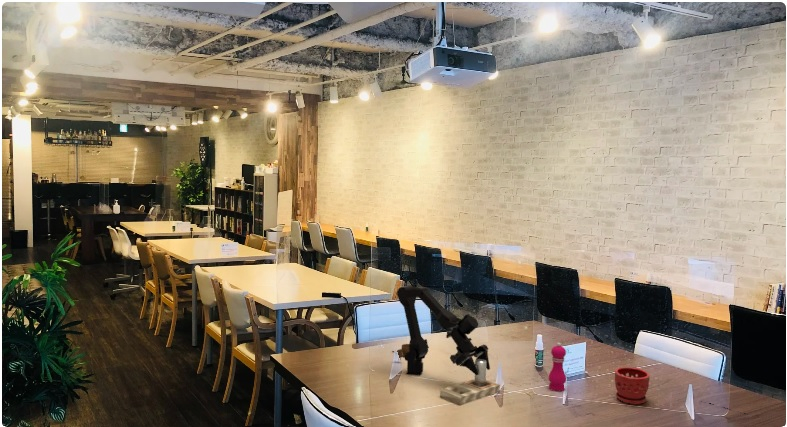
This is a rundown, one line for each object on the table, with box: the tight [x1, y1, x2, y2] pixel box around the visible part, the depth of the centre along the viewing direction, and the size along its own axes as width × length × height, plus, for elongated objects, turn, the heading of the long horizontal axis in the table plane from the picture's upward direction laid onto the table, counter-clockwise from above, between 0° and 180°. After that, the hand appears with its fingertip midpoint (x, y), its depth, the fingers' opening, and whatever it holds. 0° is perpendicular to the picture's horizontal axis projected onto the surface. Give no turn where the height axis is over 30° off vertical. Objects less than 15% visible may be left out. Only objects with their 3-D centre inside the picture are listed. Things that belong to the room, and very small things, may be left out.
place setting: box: [396, 343, 409, 359], centre depth 308 cm, size 18×20×6 cm
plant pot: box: [614, 366, 650, 405], centre depth 256 cm, size 13×13×12 cm
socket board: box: [439, 378, 501, 406], centre depth 258 cm, size 24×11×3 cm, turn 131°
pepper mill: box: [548, 342, 567, 392], centre depth 267 cm, size 7×7×20 cm
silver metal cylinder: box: [474, 358, 487, 387], centre depth 262 cm, size 5×5×13 cm
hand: (483, 372), depth 261 cm, fingers open, 9 cm apart
